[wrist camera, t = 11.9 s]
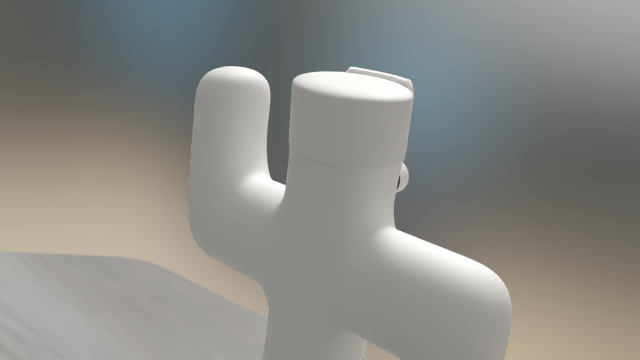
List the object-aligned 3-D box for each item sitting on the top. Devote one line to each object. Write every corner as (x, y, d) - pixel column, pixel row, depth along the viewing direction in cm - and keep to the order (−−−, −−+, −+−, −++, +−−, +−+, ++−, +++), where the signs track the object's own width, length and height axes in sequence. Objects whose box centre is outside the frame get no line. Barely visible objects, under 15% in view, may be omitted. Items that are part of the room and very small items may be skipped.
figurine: (337, 805, 13) (502, 148, 8) (89, 534, 18) (100, 37, 13) (467, 571, 18) (607, 110, 14) (251, 417, 23) (299, 42, 19)
